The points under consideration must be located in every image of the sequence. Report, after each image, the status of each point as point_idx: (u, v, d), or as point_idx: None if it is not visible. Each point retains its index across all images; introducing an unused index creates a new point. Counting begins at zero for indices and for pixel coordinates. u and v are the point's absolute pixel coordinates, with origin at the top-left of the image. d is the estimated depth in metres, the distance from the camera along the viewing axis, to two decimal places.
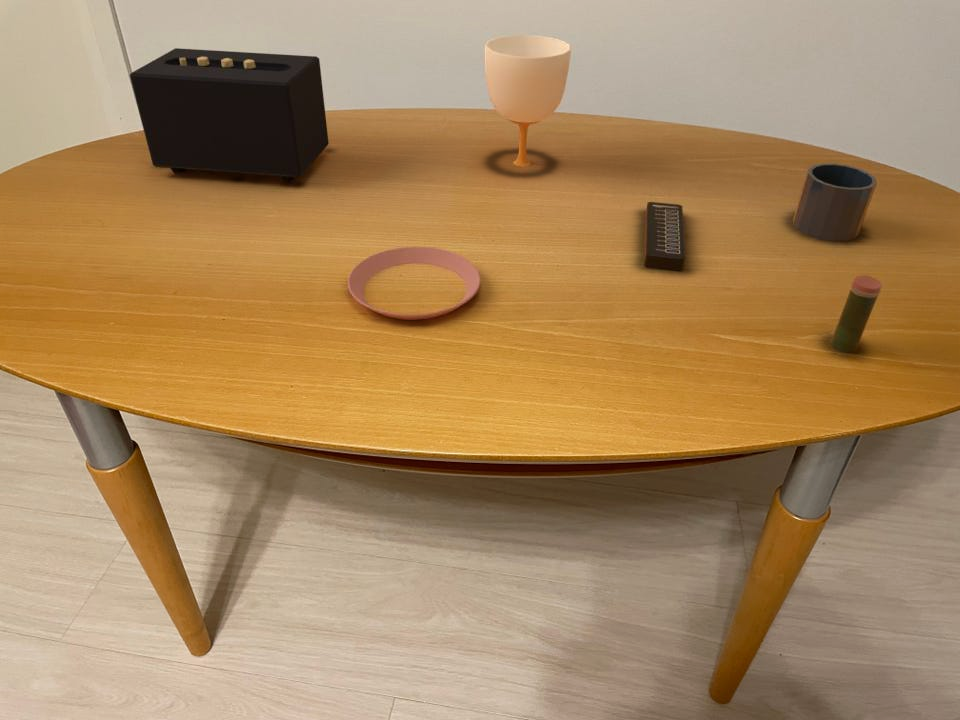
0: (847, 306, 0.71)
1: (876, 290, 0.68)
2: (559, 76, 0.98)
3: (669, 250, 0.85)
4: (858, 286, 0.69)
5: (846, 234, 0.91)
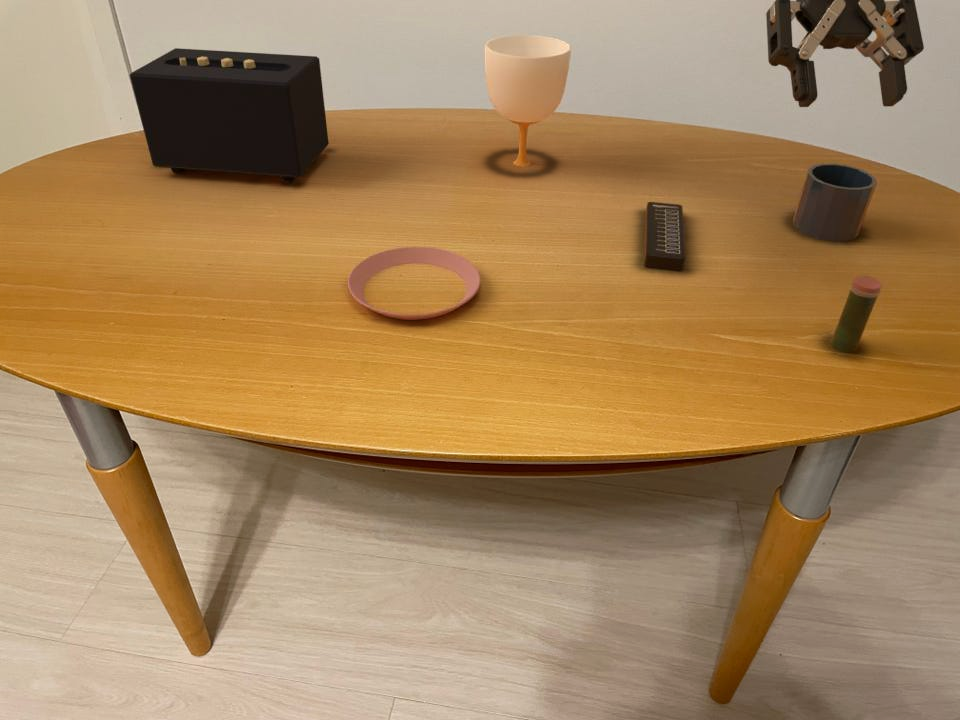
0: (847, 306, 0.71)
1: (876, 290, 0.68)
2: (559, 76, 0.98)
3: (669, 250, 0.85)
4: (858, 286, 0.69)
5: (846, 234, 0.91)
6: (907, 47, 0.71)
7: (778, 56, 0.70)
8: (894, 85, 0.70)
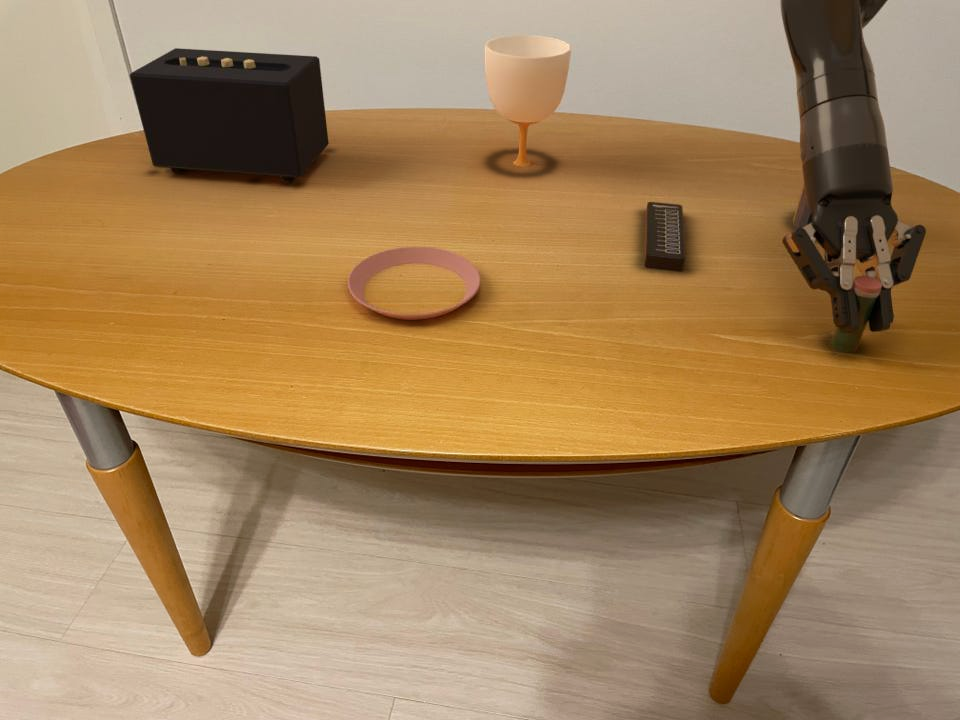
0: None
1: (876, 290, 0.68)
2: (559, 76, 0.98)
3: (669, 250, 0.85)
4: (858, 286, 0.69)
5: None
6: (895, 271, 0.70)
7: (819, 284, 0.70)
8: (880, 315, 0.69)
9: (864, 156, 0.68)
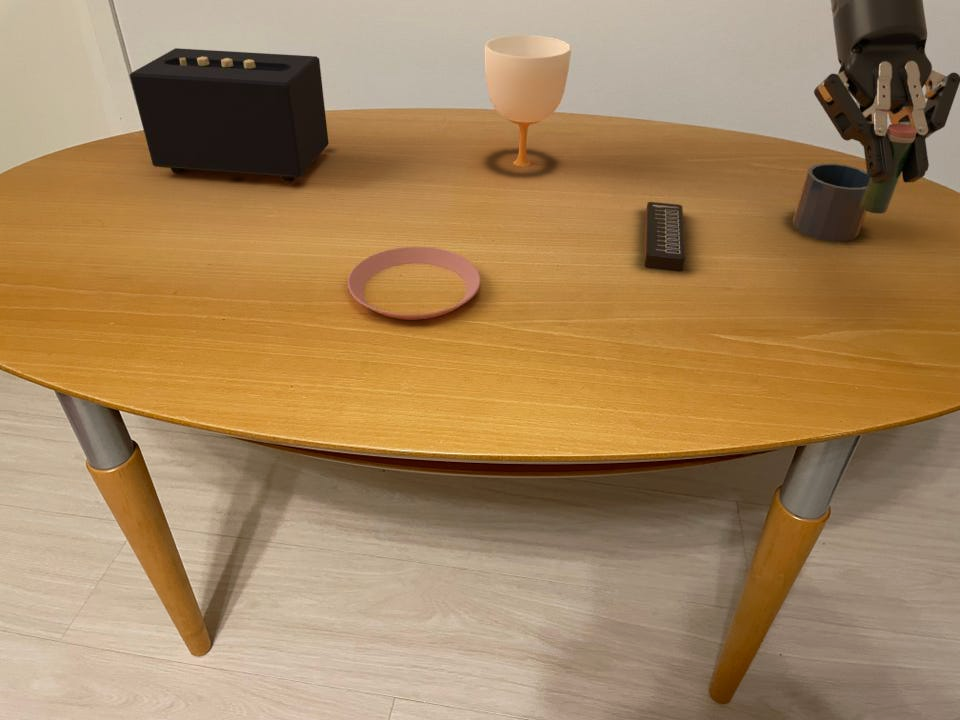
0: None
1: (911, 135, 0.67)
2: (559, 76, 0.98)
3: (669, 250, 0.85)
4: (893, 131, 0.67)
5: (846, 234, 0.91)
6: (930, 119, 0.69)
7: (852, 132, 0.69)
8: (915, 162, 0.68)
9: None
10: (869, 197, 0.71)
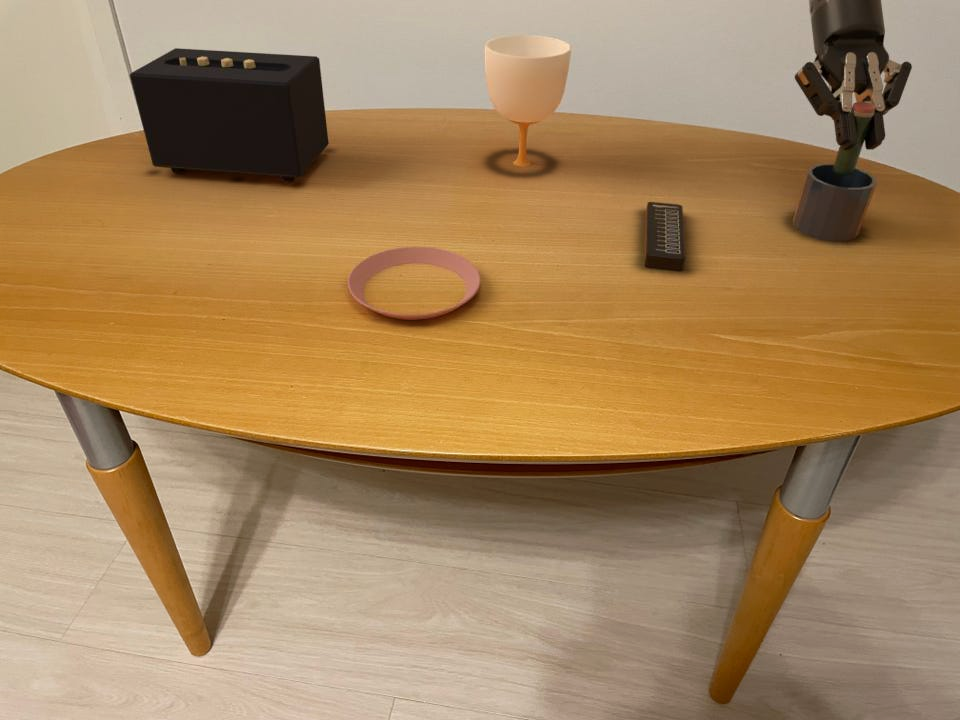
0: None
1: (871, 110, 0.84)
2: (559, 76, 0.98)
3: (669, 250, 0.85)
4: (856, 108, 0.85)
5: (846, 234, 0.91)
6: (886, 98, 0.86)
7: (824, 108, 0.86)
8: (874, 133, 0.85)
9: (861, 1, 0.84)
10: (839, 162, 0.89)
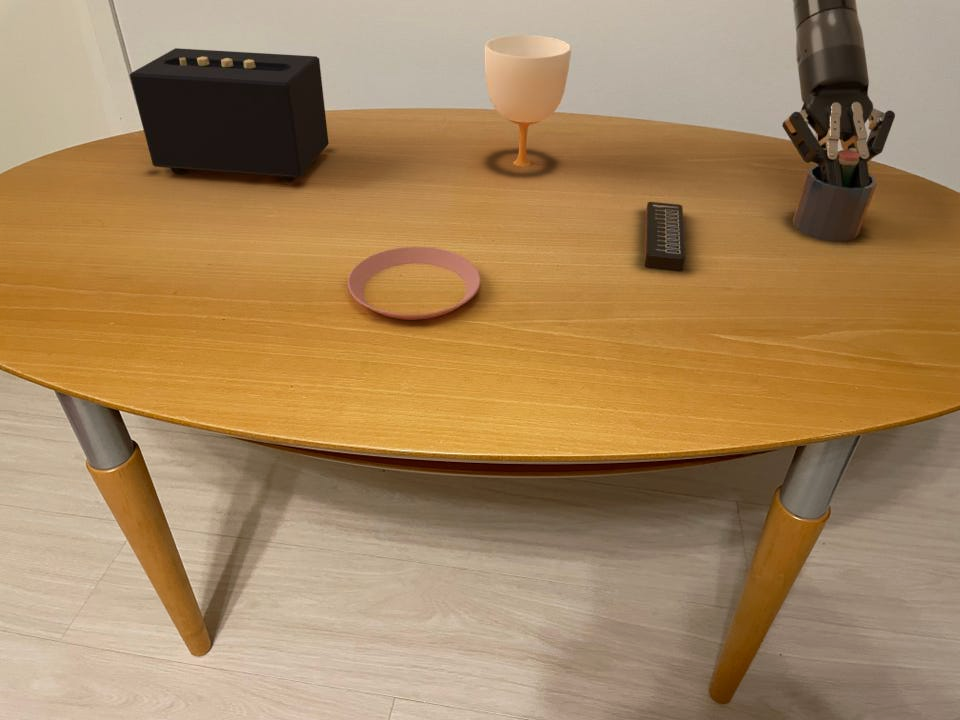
0: None
1: (855, 159, 0.88)
2: (559, 76, 0.98)
3: (669, 250, 0.85)
4: (841, 156, 0.88)
5: (846, 234, 0.91)
6: (871, 146, 0.90)
7: (811, 156, 0.89)
8: (859, 179, 0.89)
9: (846, 54, 0.88)
10: None
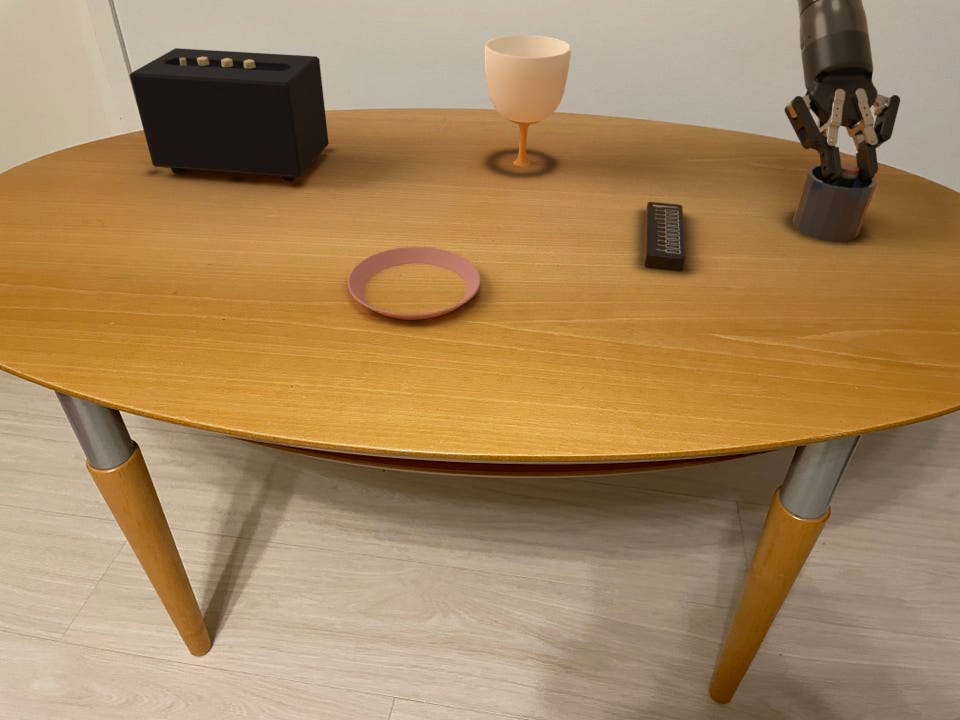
0: None
1: (855, 172, 0.89)
2: (559, 76, 0.98)
3: (669, 250, 0.85)
4: None
5: (846, 234, 0.91)
6: (879, 133, 0.89)
7: (810, 142, 0.88)
8: (867, 166, 0.88)
9: (850, 40, 0.87)
10: None
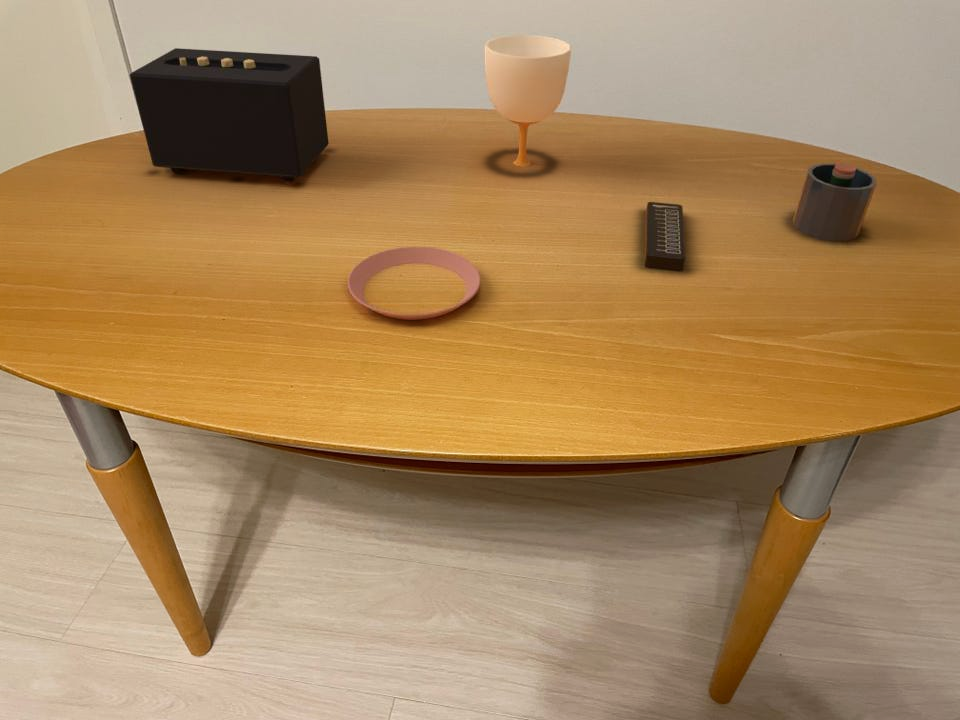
0: None
1: (851, 172, 0.89)
2: (559, 76, 0.98)
3: (669, 250, 0.85)
4: (837, 170, 0.89)
5: (846, 234, 0.91)
6: None
7: None
8: None
9: None
10: None
